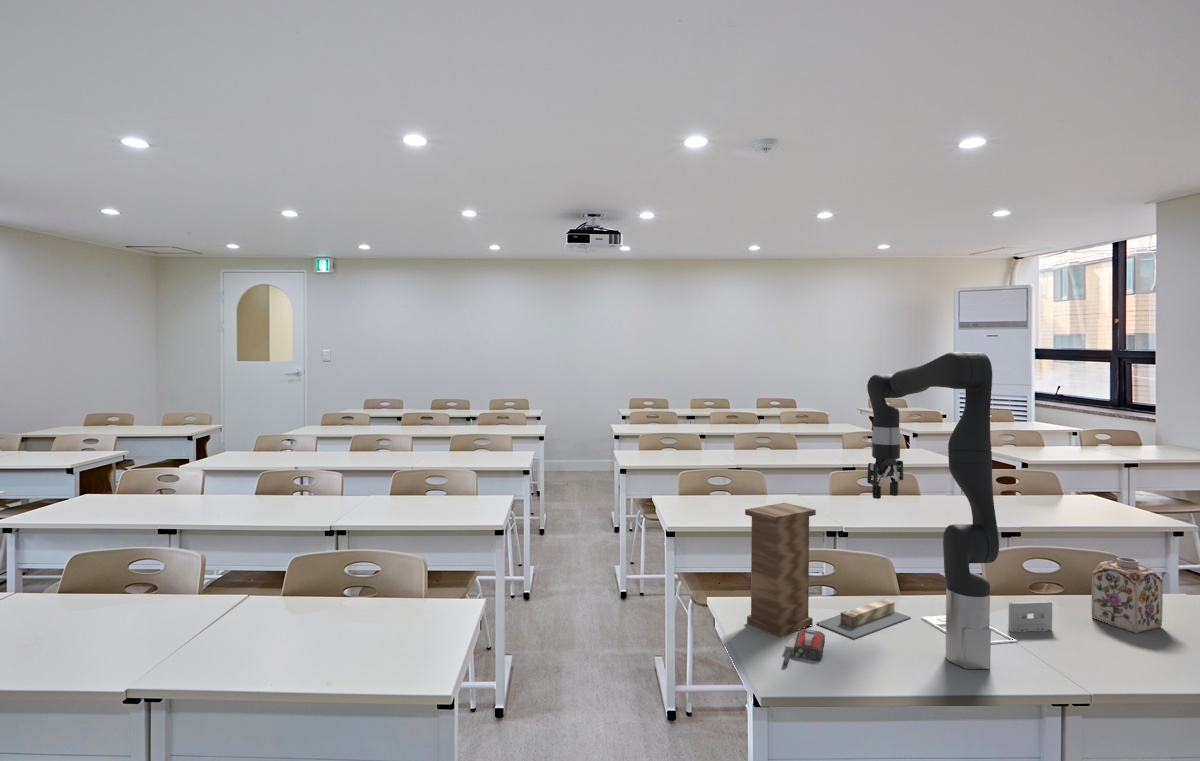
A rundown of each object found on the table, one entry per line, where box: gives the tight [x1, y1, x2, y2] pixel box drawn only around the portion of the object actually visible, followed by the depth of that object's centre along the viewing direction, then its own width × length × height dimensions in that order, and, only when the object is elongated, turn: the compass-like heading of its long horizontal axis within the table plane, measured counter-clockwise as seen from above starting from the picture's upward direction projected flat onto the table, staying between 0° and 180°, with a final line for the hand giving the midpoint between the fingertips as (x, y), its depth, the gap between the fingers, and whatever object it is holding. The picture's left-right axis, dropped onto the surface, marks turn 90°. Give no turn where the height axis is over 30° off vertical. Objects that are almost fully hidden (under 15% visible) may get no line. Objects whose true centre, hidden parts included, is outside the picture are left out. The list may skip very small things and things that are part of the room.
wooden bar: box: [840, 598, 895, 628], centre depth 182 cm, size 20×4×3 cm, turn 123°
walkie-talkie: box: [782, 628, 826, 666], centre depth 161 cm, size 9×4×20 cm
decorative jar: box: [1091, 556, 1164, 634], centre depth 180 cm, size 12×12×18 cm
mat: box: [816, 610, 911, 640], centre depth 181 cm, size 26×12×1 cm, turn 123°
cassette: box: [1007, 601, 1053, 633], centre depth 175 cm, size 12×2×8 cm, turn 94°
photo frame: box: [920, 614, 1018, 645], centre depth 175 cm, size 15×1×18 cm
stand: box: [744, 502, 817, 638], centre depth 179 cm, size 16×11×32 cm
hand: (885, 496), depth 190 cm, fingers open, 8 cm apart
